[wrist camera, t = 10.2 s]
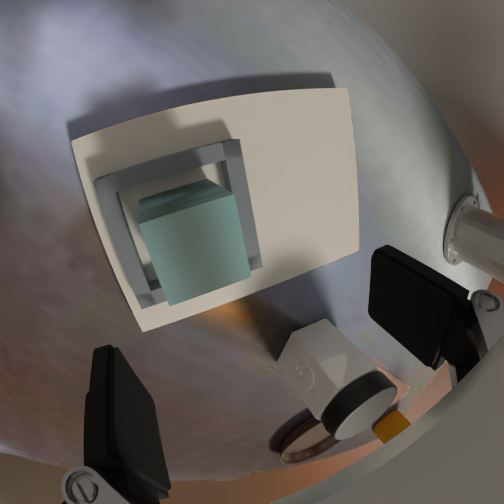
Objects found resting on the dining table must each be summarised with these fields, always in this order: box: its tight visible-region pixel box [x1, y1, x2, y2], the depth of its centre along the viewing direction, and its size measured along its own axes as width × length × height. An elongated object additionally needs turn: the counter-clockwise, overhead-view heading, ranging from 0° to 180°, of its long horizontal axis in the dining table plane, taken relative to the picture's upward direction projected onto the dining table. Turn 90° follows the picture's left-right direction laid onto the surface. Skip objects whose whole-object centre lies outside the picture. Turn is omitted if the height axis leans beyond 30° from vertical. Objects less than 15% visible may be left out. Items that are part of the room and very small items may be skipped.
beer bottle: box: [373, 410, 411, 444], centre depth 49 cm, size 9×9×29 cm
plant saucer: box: [280, 417, 341, 464], centre depth 44 cm, size 18×18×3 cm
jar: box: [277, 318, 397, 440], centre depth 28 cm, size 9×8×12 cm
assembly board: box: [71, 88, 359, 332], centre depth 21 cm, size 22×16×3 cm
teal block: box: [139, 179, 251, 306], centre depth 17 cm, size 5×5×6 cm
